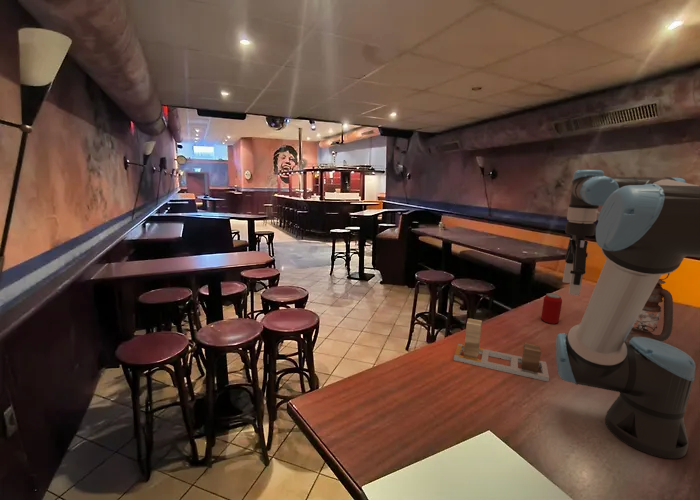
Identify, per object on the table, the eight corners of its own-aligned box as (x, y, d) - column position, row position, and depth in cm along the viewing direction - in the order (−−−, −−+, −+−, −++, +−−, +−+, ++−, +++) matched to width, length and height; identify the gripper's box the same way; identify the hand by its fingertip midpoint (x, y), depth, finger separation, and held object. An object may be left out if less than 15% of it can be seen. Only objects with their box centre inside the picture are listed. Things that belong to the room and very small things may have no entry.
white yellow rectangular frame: (548, 381, 104) (549, 376, 104) (453, 360, 116) (454, 355, 115) (545, 366, 113) (546, 361, 113) (457, 347, 125) (458, 343, 124)
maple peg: (477, 361, 115) (480, 325, 112) (463, 358, 117) (466, 323, 114) (478, 355, 119) (482, 320, 116) (464, 352, 121) (468, 318, 118)
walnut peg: (537, 375, 108) (540, 351, 106) (521, 371, 110) (524, 348, 108) (536, 368, 112) (539, 345, 110) (521, 364, 114) (524, 342, 112)
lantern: (619, 331, 140) (635, 248, 133) (671, 348, 127) (692, 256, 120) (607, 338, 134) (624, 251, 127) (661, 356, 121) (683, 260, 114)
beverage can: (558, 320, 150) (562, 294, 148) (558, 325, 145) (562, 299, 142) (541, 317, 154) (545, 291, 152) (540, 322, 148) (544, 295, 146)
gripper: (606, 227, 92) (592, 302, 96) (587, 218, 114) (577, 279, 118) (573, 225, 95) (561, 298, 99) (561, 217, 117) (552, 276, 121)
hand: (570, 288), depth 109 cm, fingers open, 13 cm apart
